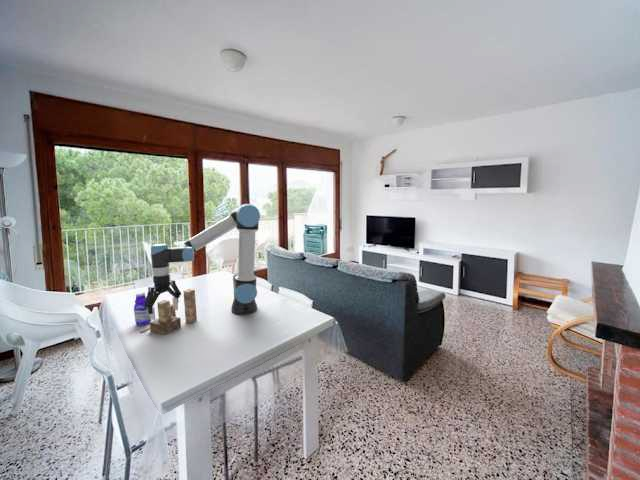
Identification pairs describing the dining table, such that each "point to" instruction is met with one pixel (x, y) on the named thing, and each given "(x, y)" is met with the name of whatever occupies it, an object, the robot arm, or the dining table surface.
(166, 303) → the peg medium
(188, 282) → the dining table surface
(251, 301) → the robot arm
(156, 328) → the hole block
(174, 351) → the dining table surface
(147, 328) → the strip
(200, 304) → the dining table surface
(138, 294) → the bottle
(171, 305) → the peg short
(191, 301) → the peg long
